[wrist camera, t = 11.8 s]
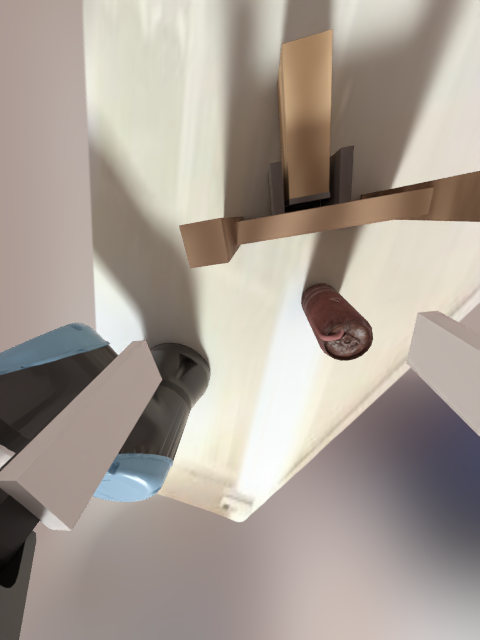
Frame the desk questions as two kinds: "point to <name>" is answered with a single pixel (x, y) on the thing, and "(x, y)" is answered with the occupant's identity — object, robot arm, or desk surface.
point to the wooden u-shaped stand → (333, 211)
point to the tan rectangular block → (305, 117)
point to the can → (336, 323)
